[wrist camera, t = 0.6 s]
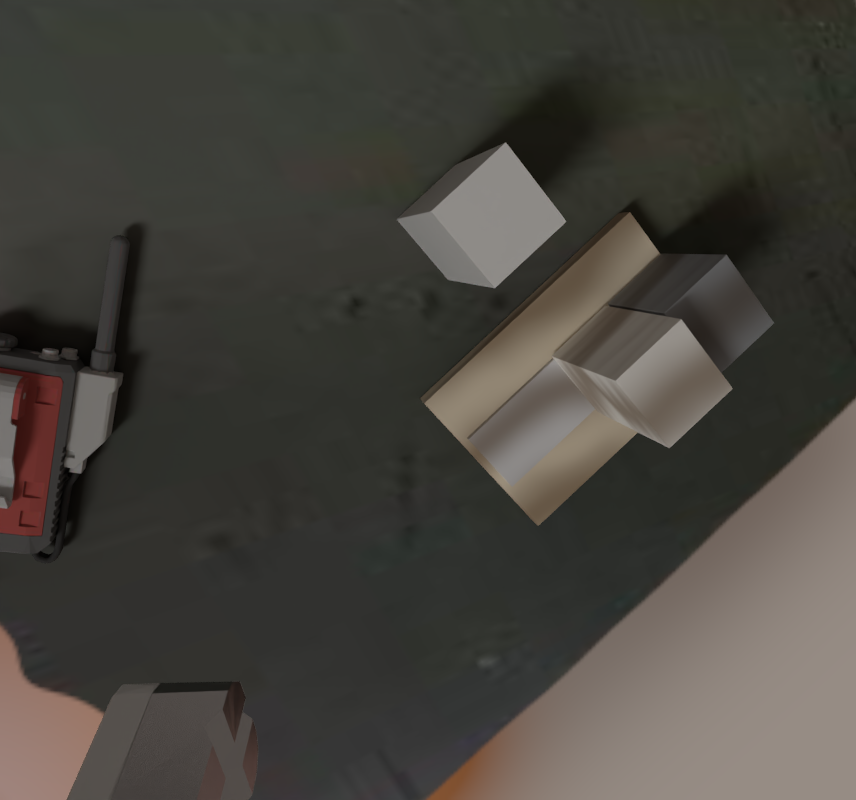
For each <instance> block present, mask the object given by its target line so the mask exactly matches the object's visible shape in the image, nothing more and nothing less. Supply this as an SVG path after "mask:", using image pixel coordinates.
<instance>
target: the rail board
mask: <svg viewBox="0 0 856 800" xmlns="http://www.w3.org/2000/svg"><path fill="white" fill-rule="evenodd" d="M773 324H774V323H773V321H772V320H771V318H770V317H769V315H768V314H767V312H766V311H765V310H764V308H763V307H762V305H761V304H760V302H759V301H758V299H757V298H756V296H755V295H754V294H753V292H752V291H751V289H750V288H749V286H748V285H747V283H746V282H745V281H744V279H743V278H742V276H741V275H740V273H739V272H738V270H737V269H736V268H735V266H734V265H733V263H732V262H731V260H730V259H729V257H728V256H727V255H715V254H660V253H659V252H658V250H657V249H656V247H655V246H654V245H653V243H652V242H651V241H650V239H649V238H648V236H647V235H646V234H645V232H644V231H643V229H642V228H641V227H640V225H639V224H638V223H637V221H636V220H635V218H634V217H633V216H632V214H631V213H630V212H624V213H618V214H617V215H616V216H615V217H614V218H613V219H612V220H611V221H610V222H609V223H608V224H607V225H606V226H604V227H603V228H602V229H601V230H600V231H599V232H598V233H597V234H596V235H595V236H594V237H593V238H592V239H590V240H589V241H588V242H587V243H586V244H585V245H584V246H583V247H582V248H581V249H580V250H579V251H578V252H577V253H575V254H574V255H573V256H572V257H571V258H570V259H569V260H568V261H567V262H566V263H565V264H564V265H563V266H561V267H560V268H559V269H558V270H557V271H556V272H555V273H554V274H553V275H552V276H551V277H550V278H549V279H548V280H546V281H545V282H544V283H543V284H542V285H541V286H540V287H539V288H538V289H537V290H536V291H535V292H534V293H532V294H531V295H530V296H529V297H528V298H527V299H526V300H525V301H524V302H523V303H522V304H521V305H520V306H519V307H517V308H516V309H515V310H514V311H513V312H512V313H511V314H510V315H509V316H508V317H507V318H506V319H505V320H503V321H502V322H501V323H500V324H499V325H498V326H497V327H496V328H495V329H494V330H493V331H492V332H491V333H490V334H488V335H487V336H486V337H485V338H484V339H483V340H482V341H481V342H480V343H479V344H478V345H477V346H476V347H475V348H473V349H472V350H471V351H470V352H469V353H468V354H467V355H466V356H465V357H464V358H463V359H462V360H461V361H459V362H458V363H457V364H456V365H455V366H454V367H453V368H452V369H451V370H450V371H449V372H448V373H447V374H446V375H444V376H443V377H442V378H441V379H440V380H439V381H438V382H437V383H436V384H435V385H434V386H433V387H432V388H430V389H429V390H428V391H427V392H426V393H425V394H424V395H423V396H422V397H421V398H420V399H421V400H422V401H423V403H424V404H425V405H426V406H427V407H428V408H429V409H430V410H431V411H432V412H433V413H434V414H435V416H436V417H437V418H438V419H439V420H440V421H441V422H442V423H443V424H444V425H445V426H446V427H447V429H448V430H449V431H450V432H451V433H452V434H453V435H454V436H455V437H456V438H457V439H458V440H459V441H460V443H461V444H462V445H463V446H464V447H465V448H466V449H467V450H468V451H469V452H470V453H471V454H472V456H473V457H474V458H475V459H476V460H477V461H478V462H479V463H480V464H481V465H482V466H483V467H484V469H485V470H486V471H487V472H488V473H489V474H490V475H491V476H492V477H493V478H494V479H495V480H496V481H497V483H498V484H499V485H500V486H501V487H502V488H503V489H504V490H505V491H506V492H507V493H508V494H509V496H510V497H511V498H512V499H513V500H514V501H515V502H516V503H517V504H518V505H519V506H520V507H521V509H522V510H523V511H524V512H525V513H526V514H527V515H528V516H529V517H530V518H531V519H532V520H533V521H534V522H535V523H536V524H537V525H538V526H539V525H540V524H541V523H542V522H543V521H544V520H545V519H546V518H547V517H548V516H549V515H550V514H551V513H552V512H554V511H555V510H556V509H557V508H558V507H559V506H560V505H561V504H562V503H563V502H564V501H565V500H566V499H567V498H568V497H570V496H571V495H572V494H573V493H574V492H575V491H576V490H577V489H578V488H579V487H580V486H581V485H582V484H583V483H584V482H585V481H587V480H588V479H589V478H590V477H591V476H592V475H593V474H594V473H595V472H596V471H597V470H598V469H599V468H600V467H601V466H603V465H604V464H605V463H606V462H607V461H608V460H609V459H610V458H611V457H612V456H613V455H614V454H615V453H616V452H617V451H618V450H620V449H621V448H622V447H623V446H624V445H625V444H626V443H627V442H628V441H629V440H630V439H631V438H632V437H633V436H634V435H636V434H637V433H640V434H642V435H644V436H646V437H648V438H650V439H652V440H654V441H656V442H658V443H660V444H662V445H664V446H666V447H668V448H670V447H671V446H672V445H673V444H674V443H675V442H676V441H678V440H679V439H680V438H681V437H682V436H683V435H684V434H685V433H686V432H687V431H688V430H689V429H690V428H691V427H692V426H693V425H695V424H696V423H697V422H698V421H699V420H700V419H701V418H702V417H703V416H704V415H705V414H706V413H707V412H708V411H709V410H710V409H712V408H713V407H714V406H715V405H716V404H717V403H718V402H719V401H720V400H721V399H722V398H723V397H724V396H725V395H726V394H727V393H729V392H730V391H731V390H732V389H733V388H732V387H731V386H730V384H729V383H728V382H727V380H726V379H725V378H724V376H723V375H722V372H723V371H724V370H725V369H726V368H727V367H728V366H729V365H730V364H731V363H732V362H733V361H734V360H735V359H736V358H737V357H739V356H740V355H741V354H742V353H743V352H744V351H745V350H746V349H747V348H748V347H749V346H750V345H751V344H752V343H753V342H755V341H756V340H757V339H758V338H759V337H760V336H761V335H762V334H763V333H764V332H765V331H766V330H767V329H768V328H769V327H770V326H772V325H773Z"/></svg>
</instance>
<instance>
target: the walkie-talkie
mask: <svg viewBox="0 0 856 800" xmlns="http://www.w3.org/2000/svg"><path fill="white" fill-rule="evenodd" d="M129 249H130V242H129V241H128V239H127V238H126V237H124V236H121V235H118V236H115V237H113V238H112V240H111V243H110V250H109V257H108V264H107V271H106V278H105V285H104V292H103V299H102V306H101V312H100V319H99V326H98V333H97V340H96V347H95V349H93V350H92V353H91V360H90V367H85V366H84V364H83V363H82V361H81V359H79V357H78V356H77V353H78V350H76V349H73V348H63V349H62V353H61V354H60V355H58V353H59V350H56V349H52V348H43V349H42V352H37V351H31V350H25V349H19V348H14V347H15V346H17V343H18V339H17V338H16V337H15V336H12V335H10V334H5V333H0V551H4V552H13V553H23V554H32V556H33V557H34V559H35V560H36V561H39V562H42V563H51V562H53V561H55V560H56V559H57V558H58V556H59V555H60V553H61V551H62V549H63V544H64V537H65V530H66V523H67V516H68V509H69V502H70V496H71V491H72V486H73V484H74V482H75V481H76V480H77V478H78V477H79V475H80V474H81V473H82V472H83V471H84V469H85V468H86V462H87V457H88V456H89V455H91V454H92V453H93V452H94V451H95V450H96V449H97V448H98V447H100V446H101V445H102V444H103V443H104V442H105V441H106V440H107V439H108V437H109V436H110V435H111V433H112V427H113V420H114V414H115V408H116V401H117V395H118V389H119V387H120V386H121V385H122V380H123V373H120V372H115V371H114V366H115V360H116V353H115V351H114V349H115V342H116V335H117V329H118V322H119V316H120V309H121V302H122V296H123V289H124V282H125V276H126V269H127V262H128V256H129ZM69 471H70V472H72V475H71V477H70V478H69V477H68V473H69ZM56 535H57V536H56ZM55 537H56V543H55V549H54V552H53V553H52V554H49V555H48V554H45V553H43V552H42V551H41V550H42V549H43V548H45V547H46V546H47V545H49V544H50V543H51V542H52V541H53V539H54V538H55Z"/></svg>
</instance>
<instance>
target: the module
mask: <svg viewBox="0 0 856 800" xmlns="http://www.w3.org/2000/svg"><path fill="white" fill-rule="evenodd" d="M397 220H398V221H399V223H400V224H401V225H402V226H403V227H404V229H405V230H406V231H407V232H408V233H409V234H410V236H411V237H412V238H413V239H414V240H415V241H416V243H417V244H418V245H419V246H420V247H421V249H422V250H423V251H424V252H425V253H426V254H427V256H428V257H429V258H430V259H431V260H432V261H433V263H434V264H435V265H436V266H437V267H438V268H439V270H440V271H441V272H442V273H443V274H444V276H445V277H446V278H447V279H448V280H452V281H458V282H463V283H469V284H474V285H480V286H486V287H491V288H495V287H497V286H498V285H499V284H500V283H501V282H502V281H503V280H504V279H505V278H506V277H507V276H508V275H509V274H510V273H512V272H513V271H514V270H515V269H516V268H517V267H518V266H519V265H520V264H521V263H522V262H523V261H524V260H526V259H527V258H528V257H529V256H530V255H531V254H532V253H533V252H534V251H535V250H536V249H537V248H538V247H540V246H541V245H542V244H543V243H544V242H545V241H546V240H547V239H548V238H549V237H550V236H551V235H552V234H554V233H555V232H556V231H557V230H558V229H559V228H560V227H561V226H562V225H563V224H564V223H565V222H566V220H565V219H564V218H563V216H562V215H561V214H560V212H559V211H558V210H557V209H556V207H555V206H554V205H553V203H552V202H551V201H550V199H549V198H548V197H547V195H546V194H545V193H544V192H543V190H542V189H541V188H540V186H539V185H538V184H537V182H536V181H535V180H534V178H533V177H532V176H531V175H530V173H529V172H528V171H527V169H526V168H525V167H524V165H523V164H522V163H521V161H520V160H519V159H518V158H517V156H516V155H515V154H514V152H513V151H512V150H511V148H510V147H509V146H508V144H507V143H506V142H505V143H503V144H501V145H499V146H496V147H494V148H492V149H490V150H487V151H485V152H483V153H481V154H479V155H476V156H474V157H472V158H470V159H467V160H465V161H463V162H461V163H458V164H456V165H455V166H454V167H453V168H451V169H450V170H449V171H448V172H447V173H446V174H445V175H444V176H443V177H442V178H441V179H440V180H438V181H437V182H436V183H435V184H434V185H433V186H432V187H431V188H430V189H429V190H428V191H427V192H425V193H424V194H423V195H422V196H421V197H420V198H419V199H418V200H417V201H416V202H415V203H414V204H412V205H411V206H410V207H409V208H408V209H407V210H406V211H405V212H404V213H403V214H402V215H401V216H400V217H398V218H397Z"/></svg>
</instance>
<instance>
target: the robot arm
mask: <svg viewBox="0 0 856 800" xmlns="http://www.w3.org/2000/svg"><path fill="white" fill-rule="evenodd" d="M245 699H246V697H245V694H244V691H243V689H242V686H241V683H240V681H233V682H187V683H149V684H125V685H122V686H121V687H120V688H119V689H118V691H117V692H116V693H115V694H114V695H113V697H112V698H111V700H110V703H109V705H108V707H107V710H106V712H105V714H104V716H103V719H102V721H101V723H100V725H99V728H98V730H97V732H96V734H95V737H94V739H93V741H92V744H91V746H90V748H89V750H88V753H87V755H86V757H85V759H84V762H83V764H82V766H81V768H80V771H79V773H78V775H77V778H76V780H75V782H74V784H73V786H72V789H71V791H70V793H69V795H68V798H67V800H248V799H249V798H250V797H251V796H252V794H253V789H254V784H255V779H256V774H257V761H258V741H257V732H256V728H255V725H254V722H253V719H252V718H250V717H249V716H247V715H246V714H244V713H243V712H242V711H243V707H244V703H245Z"/></svg>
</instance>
